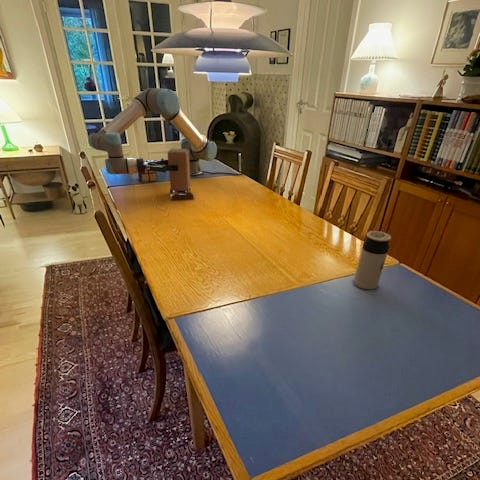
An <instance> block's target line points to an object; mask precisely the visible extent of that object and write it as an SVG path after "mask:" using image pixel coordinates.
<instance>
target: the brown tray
mask: <svg viewBox="0 0 480 480" xmlns="http://www.w3.org/2000/svg"><path fill="white" fill-rule="evenodd" d="M169 195H170V198H171V201H187V200H188V201H189V200H194V194H193V193H192V189H191V187H190V188H189V190H188V191H172V190H171V188H169Z"/></svg>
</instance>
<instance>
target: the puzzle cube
mask: <svg viewBox="0 0 480 480" xmlns="http://www.w3.org/2000/svg"><path fill="white" fill-rule="evenodd" d="M137 175H138V177H137V178H138V179H139V180H140V181H141V182H142V183H148V182H158V173H157V172H155V171H146V169H145V173H144V174H139V173H138V172H137Z"/></svg>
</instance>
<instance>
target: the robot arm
mask: <svg viewBox="0 0 480 480" xmlns="http://www.w3.org/2000/svg"><path fill="white" fill-rule="evenodd" d="M152 113H153V114H158V115H160V116H161V117H162V118H163V120H164V121H166V122H170V123H171V125H173V126H174V128H175V129H176V130H177V131H178V132H179V133H180V134H181V135H182V136H183V137H182V138H181V139H180V149H188V151H189V166H190V177H197V176H201V175H203V173H204V174H209V175H221V174H222V175H223V174H224V175H232V176H243V175H246V176H250V175H249V174H248V173H247V172H242V173H233V172H224V171H223V172H222V171H218V172H212V171H211V172H210V171H205V170H203V168H202V165H201V163H200V160H202V161H206V162H212V161H213V160H215V158H216V156H217V153H218V147H217V144H216V142H215V141H213V140H210V139H208V138H207V136H206V135H205V134H201V133H200V132H199V130H198V129H197V128H196V126H194V124H193V123H192V122H191V121H190V120H189V118H188V117H187V116H186V114H185V113H184V112H183V111H182V109H181V103H180V99H179V96H178V94H177V93H176V92H175V91H173V90H171V89H169V88H160V87H159V88H157V87H148V88H145V89H144V90H143V91H140V92H139V93H138V94H137V95H136V96H135V97H133V98H132V99H131V102H130V104H128V106H126V107H125V108H124V109H123V110H122V111H120V112H119V113H118V114H117V115H116V116H115V117H114V118H113V119H112V120H111V121H109V122H108V123H107V124H105V126H103V127H102V128H101V129H100V130H99V131H97V132H93V133H90V134H89V135H88V137H87V140H88V141H87V142H88V145H89V146H90V147H91V148H92V149H94V150H96V151H100V152H101V151H102V152H106V153H107V158H105V160H104V164H105V169H106V172H107V174H108V175H132V176H133V175H135V174H137V175H138V173H139V174H144V173H145V169H146V171H155V172H156V173H163V174H166V173H167V172H169V171H178V165H169V164H168V159H164V158H159V159H151V160H145V159H144V158H143V157H136V158H135V157H127V158H125V157H124V150H123V144H122V139H121V135H122V134H124V132H125V131H126V130H128V129H129V128H130V127H131V126H133V124H134V123H135V122H137V121H138V120H139V119H140V118H141V117H142V118H144V117H145V116H147V115H148V114H152ZM144 160H145V161H144Z"/></svg>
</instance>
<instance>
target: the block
mask: <svg viewBox="0 0 480 480" xmlns="http://www.w3.org/2000/svg"><path fill="white" fill-rule="evenodd" d="M167 160H168V164H169V165H178V171H168V172H169V186H170V189H171V190H172V191H188V190H189V188H190V189H191V186H192V185H191V176H190V166H189V151H188V149H181V148H171V149H169V150H168V151H167Z"/></svg>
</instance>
